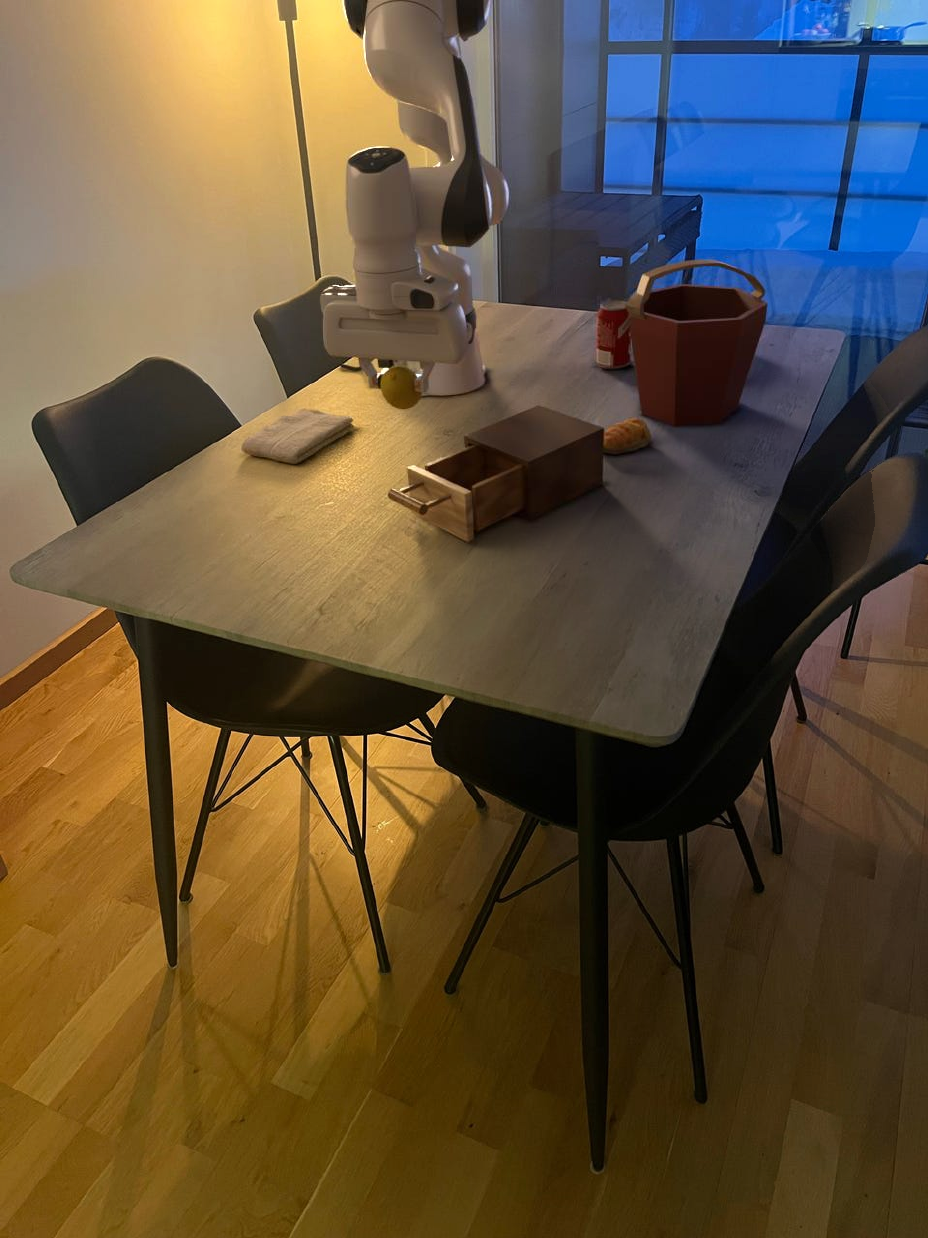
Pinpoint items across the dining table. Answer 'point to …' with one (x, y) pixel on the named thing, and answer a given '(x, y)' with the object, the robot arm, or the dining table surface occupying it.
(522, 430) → the cabinet
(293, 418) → the washcloth
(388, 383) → the lemon
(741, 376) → the bucket
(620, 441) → the pastry
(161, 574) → the dining table surface
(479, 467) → the drawer
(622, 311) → the soda can
